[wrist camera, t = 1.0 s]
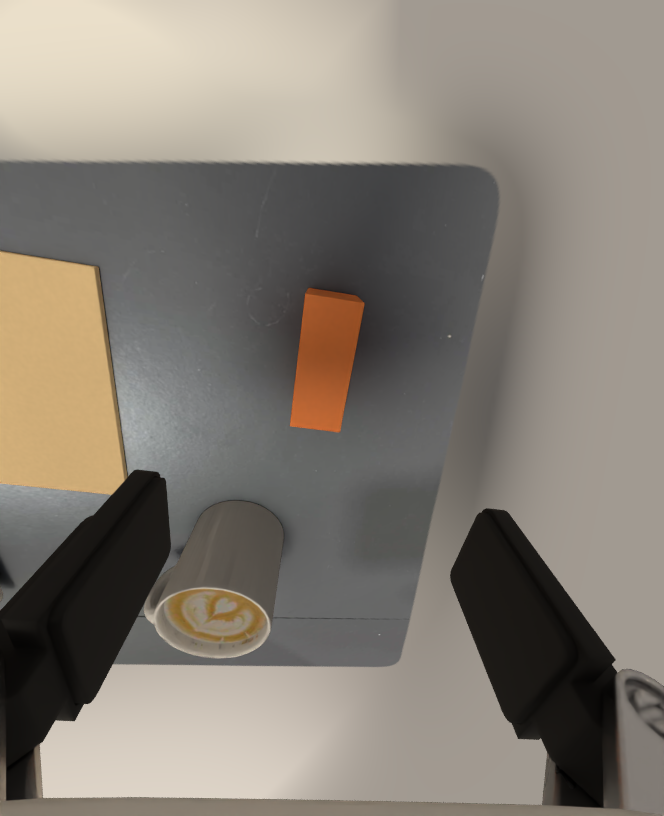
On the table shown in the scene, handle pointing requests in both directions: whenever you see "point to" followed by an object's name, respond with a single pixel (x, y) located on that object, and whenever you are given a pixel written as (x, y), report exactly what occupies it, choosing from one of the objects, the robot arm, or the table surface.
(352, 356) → the block
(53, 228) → the table surface
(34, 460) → the mat
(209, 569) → the coffee mug
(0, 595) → the infrared thermometer
